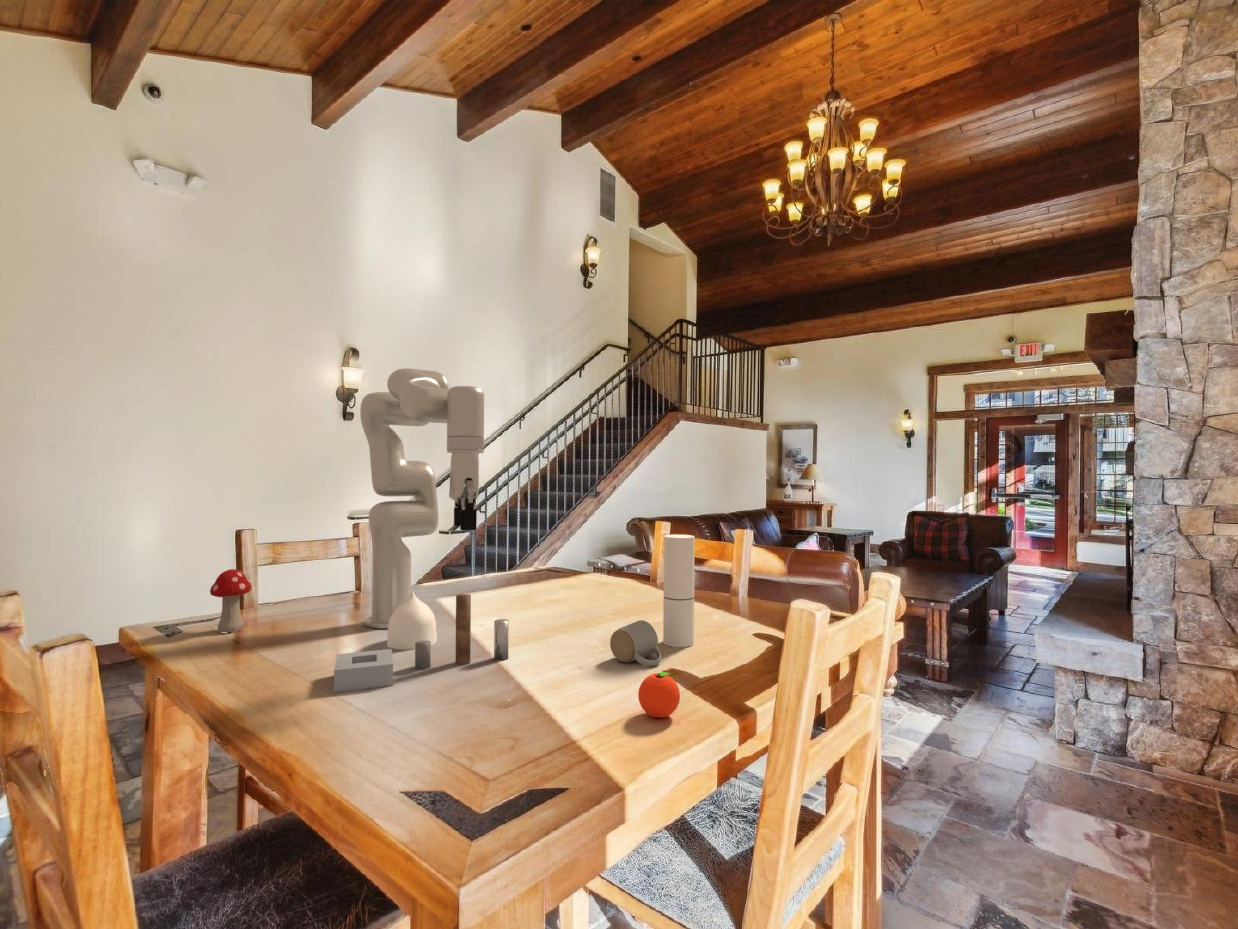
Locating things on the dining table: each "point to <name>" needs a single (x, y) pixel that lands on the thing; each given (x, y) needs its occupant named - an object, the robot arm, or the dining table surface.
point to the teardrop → (411, 625)
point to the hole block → (363, 670)
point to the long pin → (463, 628)
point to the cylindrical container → (678, 590)
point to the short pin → (423, 654)
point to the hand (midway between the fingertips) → (464, 527)
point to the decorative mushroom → (230, 598)
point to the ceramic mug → (635, 643)
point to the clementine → (659, 695)
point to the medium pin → (501, 639)
